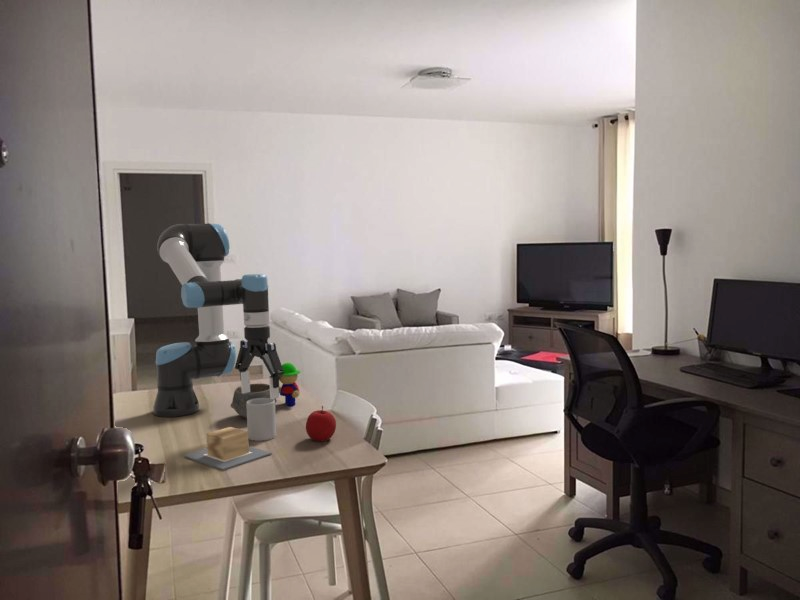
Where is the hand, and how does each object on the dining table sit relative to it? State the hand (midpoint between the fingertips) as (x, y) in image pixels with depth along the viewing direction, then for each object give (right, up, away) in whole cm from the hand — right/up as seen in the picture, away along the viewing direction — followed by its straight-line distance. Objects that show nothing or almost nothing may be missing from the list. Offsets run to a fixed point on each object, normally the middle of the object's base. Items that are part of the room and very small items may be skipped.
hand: (260, 395), depth 209 cm
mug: (0, -13, +2) cm, 13 cm away
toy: (+2, -9, +38) cm, 40 cm away
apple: (+19, -13, -4) cm, 23 cm away
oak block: (-5, -14, -17) cm, 23 cm away
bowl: (-6, -10, +22) cm, 25 cm away
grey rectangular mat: (-5, -14, -17) cm, 23 cm away
